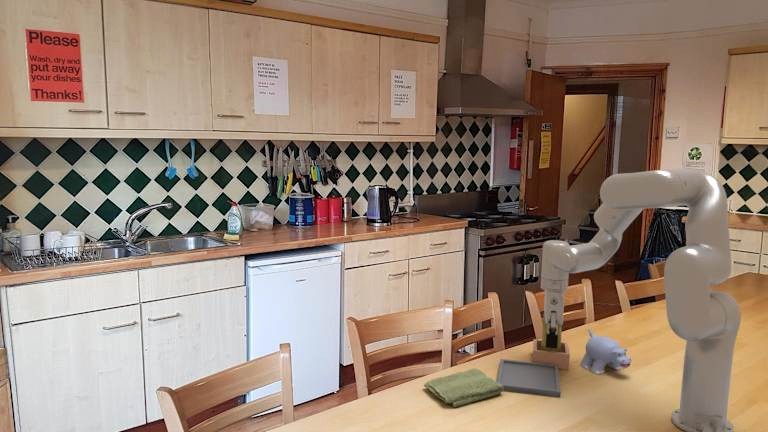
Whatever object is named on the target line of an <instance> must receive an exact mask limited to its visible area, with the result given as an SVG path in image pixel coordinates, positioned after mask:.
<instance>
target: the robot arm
mask: <svg viewBox="0 0 768 432" xmlns="http://www.w3.org/2000/svg"><path fill="white" fill-rule="evenodd" d="M599 197H600V200H601V203H602V204H601V205H600V206H598V208H597V210H596V211H594V215H593V219H594V223H596V225H597V226H598V228H599V230H598V232H596V234H595V235H594V237H593V238H592V239H591V240H590V241H589V242H586V243H580V244H579V243H578V244H572V245H570V243H569V242H567V241H564V240H556V239H550V240H546V241H544V242H543V244H542V255H541V259H542V261H541V274H540V276H541V278H540V279H541V280H540V288H541V289H542V290H544V300H543V302H544V305H543V307H544V312H543V313H545V323H546V324H547V325H548V328H547V333H546V347H547V348H557V344H558V334H557V329H558V324H559V325H561V326H563V324H564V308H565V305H564V304H565V292H567V291H568V290H569V278H570V277H569V275H570V274H577V273H578V274H579V273H584V272H588V271H593V270H597V269H599V268H601V267H603V266H604V265H605V264H606V263H607V262H608V261H609V260H610V259H611V258H612V257H613V256H614V255H615V253H616V252H617V251H618V250H619V248H620V245H621V243H622V241H623V234H624V232H625V231H626V230H627V228H629V226H630V225H631V224H632V223H633V221H634V220H635V219H636V218H637V217H638V216H639V215H640V213H642V211H643V210H644V209H660V208H661V209H663V208H664V209H665V208H673V207H681V206H686V207H688V212H687V216H686V218H685V229H684V230H685V239H686V240H685V246H682V247H679V248H677V249H675V250H674V251H672V252H671V253H670V254H669V255H668V257H667V259H666V261H665V264H664V267H663V268H664V269H663V278H664V280H663V281H664V295H665V307H666V308H665V310H666V318H667V321H668V324H669V327H670V329H671V330H672V332H673V333H674V334H675V335H676V336H677V337H679V338H680V339H681V340H684V341H686V342H685V347H684V356H683V367H682V378H681V379H682V380H681V387H680V389H681V391H680V401H679V408H677V409H674V410H673V411H672V412H671V417H670V419H671V421H672V423H673V424H674V425H675V426H676V427H678V428H679V429H680V430H683V431H684V432H734V425H733V423H732V422H731V421H730V420H729V419H728V417H727V415H728V408H729V407H728V406H729V396H730V388H731V387H730V386H731V377H732V368H733V367H732V366H733V360H734V353H735V352H734V351H735V345H736V341H737V336H738V333H739V329H740V326H741V321H742V311H741V307H740V305H739V303H738V302H737V300H736V298H734V297H733V296H732V295H730V294H729V293H727V292H725V291H721V290H710V287H713V286H717V285H720V284H722V283H724V282H725V281H727V280H728V279H729V277H730V275H731V273H732V254H731V241H730V239H731V237H730V230H729V215H728V214H729V212H728V211H729V207H728V197H727V192H726V190H725V188H724V186H723V184H722V183H721V182H720V181H719V179H717V178H716V177H715V176H713V175H712V174H711V173H709V172H706V171H703V170H699V169H694V168H674V169H670V168H669V169H658V170H657V169H655V170H648V171H647V170H646V171H639V172H638V171H637V172H627V173H617V174H612V175H610V176H609V177H607V178H606V179H605V180H604V181H603V182H602V184H601V186H600V189H599ZM549 321H550V322H551V323H549ZM550 326H551V327H550ZM555 326H556V328H555ZM549 327H550V328H549Z"/></svg>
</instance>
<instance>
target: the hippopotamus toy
mask: <svg viewBox="0 0 768 432" xmlns="http://www.w3.org/2000/svg"><path fill="white" fill-rule="evenodd" d="M586 331H588V333H589V337H590V338H589V339H588V340H587V342H586V344H585V353H584V356H583V358H582V360H581V363H580V364H579V365H580V367H582V368H584V369H586V370H589V369H590V371H591V373H594V374H595V375H599V374H601V375H602V374H604V373H605V372H606V371H605V367H606V365H609V367H610V368H612V369H614V370H617V371H618V370H619V371H620V370H622V369H629V367H630V366H631V363H632V358H631V357H629V356H627V353H626V352H627V351H628V349H627V348H626V347H624V348H623V349H622V347H621V345H620V344H619V343H618V342H617V341H616V340H614V339H613V338H610V337H608V336H601V335H600V336H598V335H595V334H594V333H593V331H592V330H591V329H586Z"/></svg>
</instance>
